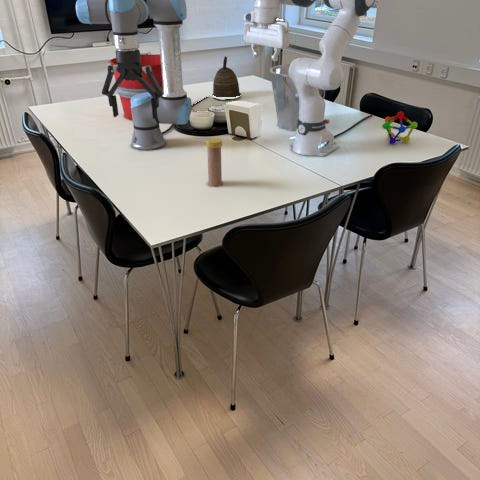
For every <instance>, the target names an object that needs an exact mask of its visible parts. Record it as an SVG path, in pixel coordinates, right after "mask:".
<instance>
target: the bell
mask: <svg viewBox="0 0 480 480" xmlns="http://www.w3.org/2000/svg"><path fill="white" fill-rule="evenodd" d="M227 63H228V57H227V56H224V58H223V63H222V67H221V68H219V69H218V70H217V71H216V73H215V75H214V78H213V81H212V83H213V84H212V95H214V96H216V97H236V96H240V95H241V96H242V93H241V92H240V83H239V80H238V79H239V78H238V77H237V75H236V73H235V72H234V70H232V69H231V68H230V67H227Z"/></svg>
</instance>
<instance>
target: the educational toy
mask: <svg viewBox="0 0 480 480" xmlns="http://www.w3.org/2000/svg"><path fill="white" fill-rule="evenodd" d="M397 119H399V124H400V125H399V127H398V126H393V125H391V124H392V123H394V122H395V121H396V120H397ZM403 120H404V121H405V122H407V123H408V124H409V125H407V126H404V123H403ZM417 127H418V122H417V121H411V120H410V119H409V118H408V117H406V116H405V113H404V112H403V111H401V110H400V111H398V112H397V114H396V115H394V116H391V117H390V116H386V117H385V118H384V122H383V123H382V129H383V130H386V132H387V138H388V142H389V145H395V144H396V143H397V142H402V141H403V142H404V143H409V142H410V140H411V138H410V136H411V134H412V132H413V131H414V130H415V129H417ZM392 129H393V130H397V131H398V132H396V134H395V133H394V132H392ZM408 129H409V131H408V133H407V134H406V135H404V136H401V134H403V133H405V132H406V130H408ZM399 135H400V136H399Z"/></svg>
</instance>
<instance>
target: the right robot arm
mask: <svg viewBox="0 0 480 480" xmlns="http://www.w3.org/2000/svg"><path fill="white" fill-rule="evenodd" d="M316 1H317V0H255V1H254V4H253V10H251V11H250V12H246V13H244V14H243V21H244V23H243V28H242V29H243V32H242V35H243V41H244V43H246V44H250V47H251V51H252V54H253V55H252V57H253V58H259V57H260V51H259V50H258V46H263V47H268V48H269V47H270V48H273V55H271V61H272V62H278V60H279V55H280V53H281V51H282V50H283V49H288V48H289V47H290V27H289V26H290V24H289V21H288V20H287V19H286V18H281V17H280V14H281V13H280V12H281V5H285V6H295V7H302V8H309V7H311V6H312V5H314V4H315V2H316ZM375 1H376V0H323V3H324V5H325V7H327V8H329V9H333V10H335V9H336V10H338V14H337V15H336V17H334V19H333V21H332V22H331V23H330V25H328V28H327V29H326V31H325V33H324V34H323V36H322V37H321V39H320V41H319V44H318V48H319V49H318V50H319V52H320V54H321V56H320V57H319V58H318V59H317V58H311V57H297V58H294V59H293V60H292V61H291V62H290V66H289V70H288V73H289V77H290V79H291V80H292V81H293V83H294V85H295V87H296V89H297V92H298V97H299V118H298V120H297V129H296V130H295V134H294V136H291V137H289V140H293V139H294V140H293V142H292V144H291V145H292V152H294V153H296V154H299V155H302V156H313V157H314V156H316V157H317V156H319V157H325V156H327V155H328V154H330V153H332V152H334V151H335V150H336V149H338V148H339V144H338V143H337V142H335V139H336V138H338V137H339V136H341V135H343V134H345V133H347V132H348V131H350V130H352V129H353V128H355V127H356V126H357V125H359V124H360V123H362V122H363V121H365V120H367V119H369V118H371V117H373V114H369V115H367V116H365V117H363V118H362V119H360V120H358V121H357V122H356V123H353V125H351V126H350V127H348V128H346V129H345V130H343V131H342V132H339V133H337V134H335V135H334V133H333V132H331V131H330V130H329V129H328V128H327V125H330V122H331V120H330V119H327V118H325V113H326V112H325V111H326V101H325V98H324V99H323V96H322V97H321V95H320V94H319V91H318V89H322V90H325V91H334V90H337V89H339V87H340V86H341V85H342V83H343V81H344V78H345V73H344V72H345V71H344V69H343V66H342V64H341V63H342V58H343V56H344V54H345V52H346V51H347V49H348V47H349V45H351V42H352V40H353V39H354V37H355V35H356V33H357V30H358V29H359V25H360V23H361V19H360V17H363V16H364V15H366V13H367V12H368V11H369V10H370V9H371V8H372V6H373V5H374V4H375Z"/></svg>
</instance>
